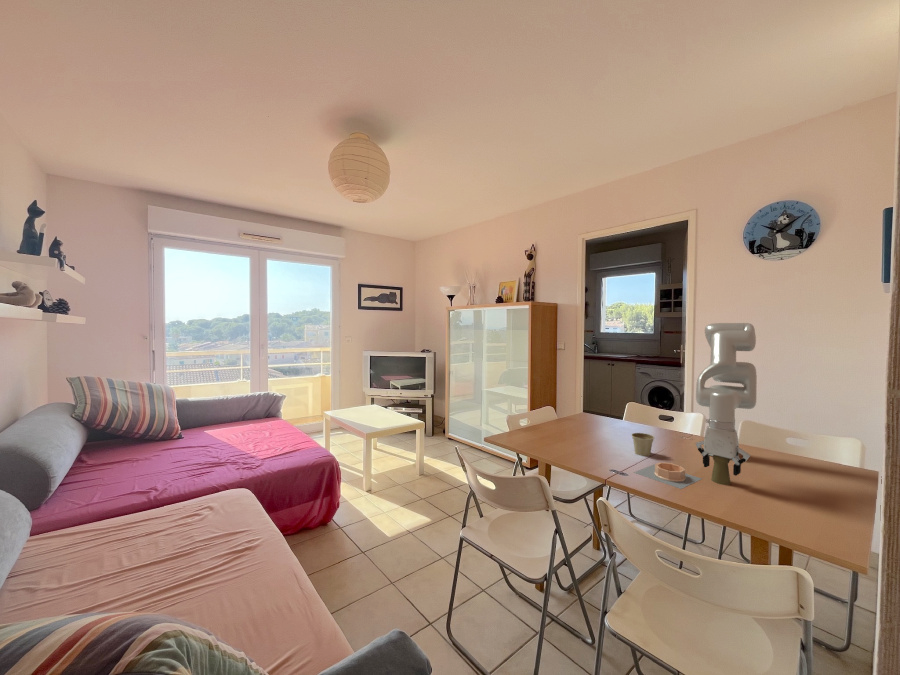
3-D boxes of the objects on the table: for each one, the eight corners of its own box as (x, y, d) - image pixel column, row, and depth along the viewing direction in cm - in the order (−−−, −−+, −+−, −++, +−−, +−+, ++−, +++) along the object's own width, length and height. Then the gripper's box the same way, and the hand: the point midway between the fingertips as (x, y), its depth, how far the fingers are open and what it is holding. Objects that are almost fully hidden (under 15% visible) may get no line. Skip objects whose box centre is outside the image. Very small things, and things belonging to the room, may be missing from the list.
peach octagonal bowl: (663, 469, 153) (663, 460, 152) (690, 477, 144) (690, 468, 144) (649, 474, 147) (649, 465, 147) (676, 484, 138) (677, 474, 138)
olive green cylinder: (727, 480, 142) (727, 451, 142) (733, 486, 137) (734, 457, 136) (708, 478, 144) (709, 450, 144) (714, 484, 139) (714, 455, 138)
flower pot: (658, 458, 166) (658, 439, 166) (637, 458, 166) (637, 439, 166) (647, 451, 175) (648, 432, 175) (627, 451, 176) (627, 432, 175)
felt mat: (655, 464, 158) (655, 464, 158) (702, 479, 143) (702, 478, 143) (633, 473, 149) (633, 472, 149) (681, 490, 134) (681, 488, 134)
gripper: (691, 421, 145) (691, 465, 145) (745, 431, 130) (744, 480, 131) (700, 419, 149) (700, 461, 149) (754, 428, 134) (753, 476, 135)
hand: (721, 470), depth 140 cm, fingers open, 9 cm apart
